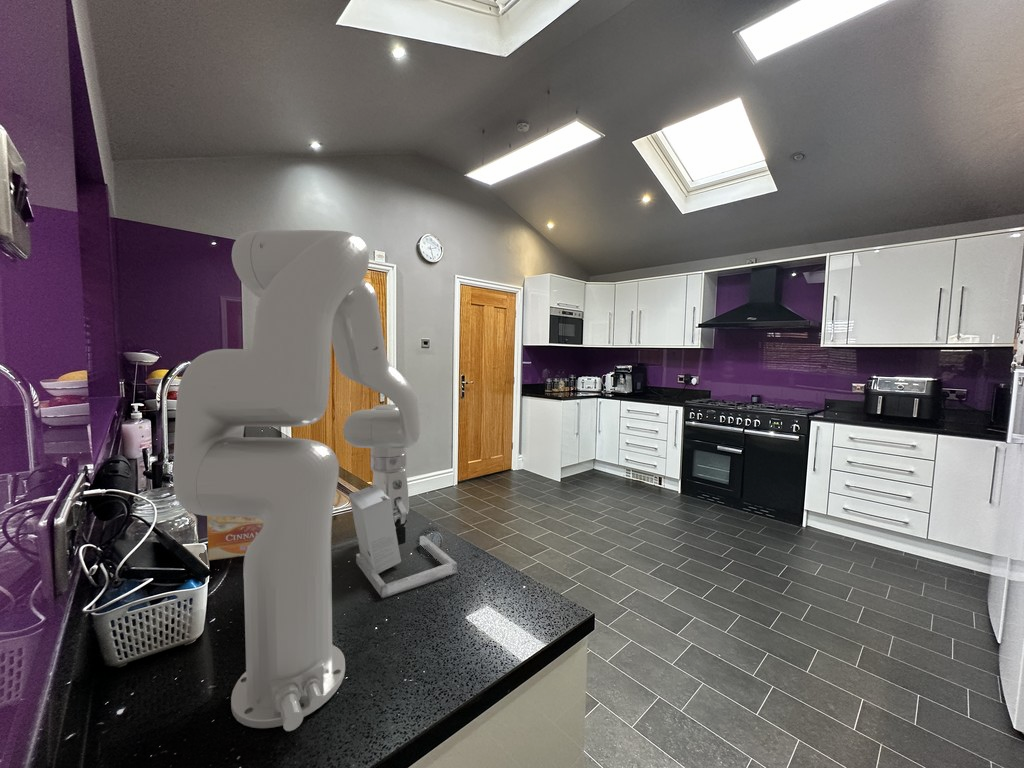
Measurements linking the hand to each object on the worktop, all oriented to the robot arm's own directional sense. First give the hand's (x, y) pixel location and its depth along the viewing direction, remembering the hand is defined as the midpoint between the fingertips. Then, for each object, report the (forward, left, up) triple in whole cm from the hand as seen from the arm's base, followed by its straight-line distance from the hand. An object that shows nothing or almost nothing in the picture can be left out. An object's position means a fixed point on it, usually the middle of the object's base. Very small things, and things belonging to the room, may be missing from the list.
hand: (389, 535), depth 90 cm
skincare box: (-6, +4, -2) cm, 8 cm away
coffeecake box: (+15, +24, -3) cm, 28 cm away
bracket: (-11, +1, -2) cm, 11 cm away
